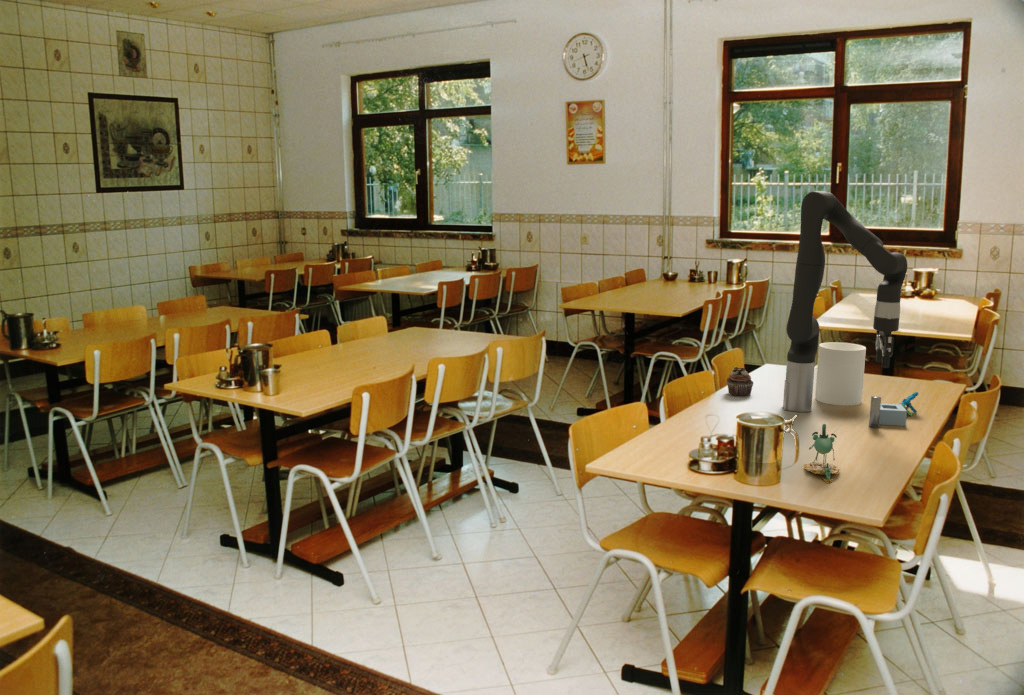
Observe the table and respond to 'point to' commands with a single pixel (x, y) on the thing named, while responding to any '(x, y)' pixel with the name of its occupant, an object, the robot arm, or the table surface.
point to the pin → (875, 411)
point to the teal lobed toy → (908, 404)
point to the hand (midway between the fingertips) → (882, 365)
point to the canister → (840, 373)
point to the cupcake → (739, 383)
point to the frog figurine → (823, 447)
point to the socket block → (892, 414)
